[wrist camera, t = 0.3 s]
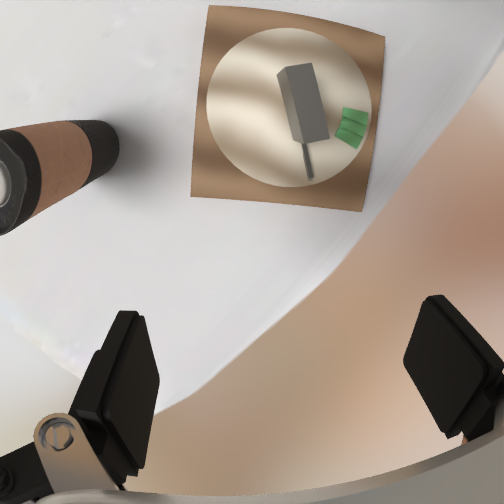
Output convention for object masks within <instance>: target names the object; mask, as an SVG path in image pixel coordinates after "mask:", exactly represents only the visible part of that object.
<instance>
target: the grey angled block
mask: <svg viewBox="0 0 504 504" xmlns="http://www.w3.org/2000/svg"><path fill="white" fill-rule="evenodd" d="M277 79H278V83H279V86H280V90H281V94H282V98H283V102H284V106H285V110H286V114H287V118H288V122H289V126H290V130H291V134H292V138H293V140H294V141H297V142H299V143H301V146H302V150H303V155H304V159H305V164H306V169H307V173H308V178H309V179H310V178H314V176H313V171H312V166H311V162H310V157H309V152H308V148H307V144H308V143H313V142H317V141H322V140H327V139H330V136H329V131H328V126H327V122H326V117H325V113H324V109H323V104H322V100H321V96H320V92H319V88H318V84H317V80H316V76H315V72H314V69H313V65H312V63H305V64H299V65H293V66H287V67H284V68H283V69H282V70H281V71H280V72H279V73H278V74H277Z"/></svg>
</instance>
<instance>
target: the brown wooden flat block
mask: <svg viewBox="0 0 504 504" xmlns="http://www.w3.org/2000/svg"><path fill="white" fill-rule="evenodd" d="M384 48H385V37H384V36H381V35H378V34H375V33H372V32H369V31H366V30H362V29H359V28H355V27H352V26H348V25H344V24H340V23H336V22H332V21H328V20H324V19H319V18H314V17H309V16H304V15H299V14H293V13H287V12H281V11H273V10H266V9H257V8H247V7H234V6H215V5H209V8H208V14H207V21H206V28H205V36H204V43H203V51H202V59H201V68H200V77H199V87H198V97H197V107H196V119H195V131H194V145H193V160H192V177H191V197H203V198H219V199H233V200H246V201H259V202H271V203H282V204H292V205H302V206H312V207H322V208H331V209H340V210H348V211H356V212H362V209H363V204H364V199H365V194H366V188H367V183H368V177H369V172H370V166H371V160H372V154H373V148H374V141H375V134H376V127H377V120H378V112H379V103H380V94H381V85H382V74H383V62H384ZM305 63H312V65H313V69H314V72H315V76H316V80H317V84H318V88H319V92H320V96H321V100H322V104H323V109H324V113H325V117H326V122H327V126H328V131H329V136H330V139H327V140H322V141H317V142H313V143H308V144H307V148H308V152H309V157H310V162H311V166H312V171H313V176H314V178H310V179H309V178H308V173H307V169H306V164H305V159H304V155H303V150H302V146H301V143H299V142H297V141H294V140H293V138H292V134H291V130H290V126H289V122H288V118H287V114H286V110H285V106H284V102H283V98H282V94H281V90H280V86H279V83H278V79H277V74H278V73H279V72H280V71H281V70H282V69H283V68H284V67H287V66H293V65H299V64H305Z"/></svg>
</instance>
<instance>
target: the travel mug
mask: <svg viewBox="0 0 504 504" xmlns="http://www.w3.org/2000/svg"><path fill="white" fill-rule="evenodd" d="M118 153H119V141H118V137H117V135H116V133H115V131H114V130H113V128H112V127H111V126H109V125H108V124H107V123H105V122H102V121H97V120H69V121H55V122H48V123H41V124H34V125H28V126H22V127H16V128H11V129H6V130H1V131H0V236H1V235H4V234H6V233H8V232H10V231H12V230H13V229H15V228H16V227H18V226H19V225H21V224H22V223H24V222H25V221H27V220H28V219H30V218H32V217H33V216H35V215H37V214H38V213H40V212H41V211H43V210H45V209H46V208H48V207H50V206H51V205H53V204H55V203H57V202H58V201H60V200H62V199H64V198H65V197H67V196H69V195H71V194H73V193H74V192H76V191H77V190H79V189H81V188H82V187H84V186H85V185H87V184H88V183H90V182H92V181H93V180H95V179H96V178H98V177H100V176H101V175H103V174H104V173H106V172H107V171H108V170H110V169H111V168H112V166H113V165H114V163H115V162H116V159H117V157H118Z"/></svg>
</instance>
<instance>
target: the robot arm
mask: <svg viewBox="0 0 504 504" xmlns="http://www.w3.org/2000/svg"><path fill="white" fill-rule="evenodd" d="M403 363H404V366H405V368H406V370H407V372H408V373H409V375H410V377H411V378H412V380H413V382H414V384H415V385H416V387H417V389H418V391H419V392H420V394H421V396H422V398H423V400H424V401H425V403H426V405H427V407H428V409H429V410H430V412H431V414H432V416H433V418H434V420H435V422H436V423H437V425H438V427H439V429H440V431H441V432H444V433H445V435H446V437H447V439H449V438H451V437H454V436H456V435H459V434H460V432H461V431H462V432H463V434H464V435H463V440H462V444H461V446H459V447H456V448H454V449H452V450H450V451H447V452H445V453H442V454H440V455H437V456H435V457H432V458H429V459H427V460H424V461H421V462H418V463H415V464H413V465H409V466H407V467H403V468H400V469H397V470H394V471H390V472H387V473H384V474H380V475H376V476H372V477H368V478H364V479H360V480H357V481H352V482H348V483H343V484H337V485H332V486H327V487H321V488H315V489H309V490H302V491H294V492H286V493H276V494H266V495H265V494H264V495H249V496H185V495H183V496H182V495H168V494H157V493H144V492H132V491H128V490H127V489H126V487H125V486H124V484H123V483H125V482H126V477H127V475H129V476H136V477H137V476H138V470H139V469H143V468H144V465H145V460H146V453H147V447H148V441H149V436H150V431H151V425H152V420H153V415H154V409H155V404H156V399H157V394H158V389H159V383H160V378H159V373H158V369H157V366H156V362H155V358H154V355H153V351H152V347H151V343H150V339H149V335H148V331H147V326H146V322H145V318H144V316H140V315H139V313H138V312H137V311H119V312H118V314H117V316H116V318H115V320H114V322H113V324H112V326H111V328H110V330H109V332H108V334H107V337H106V339H105V341H104V343H103V345H102V347H101V350H97V351H96V352H95V353H94V355H93V357H92V359H91V361H90V364H89V366H88V368H87V370H86V372H85V375H84V377H83V379H82V381H81V384H80V386H79V388H78V391H77V393H76V395H75V398H74V400H73V403H72V405H71V408H70V410H69V413H68V414H65V413H54V414H50V415H48V416H46V417H44V418H43V419H42V420H41V421H40V422H39V423H38V424H37V426H36V428H35V430H34V436H33V437H34V442H32V443H30V444H27V445H25V446H23V447H21V448H19V449H17V450H15V451H13V452H11V453H9V454H6V455H4V456H2V457H0V504H504V374H503V373H502V370H503V369H504V362H503V361H502V359H501V358H500V357H499V356H498V355H497V354H496V352H495V351H494V350H493V349H492V348H491V346H490V345H489V344H488V343H487V342H486V341H485V340H484V338H483V337H482V336H481V335H480V334H479V333H478V332H477V331H476V329H475V328H474V327H473V326H472V325H471V324H470V323H469V322H468V321H467V320H466V318H465V317H464V316H463V315H462V314H461V313H460V312H459V311H458V310H457V309H456V308H455V307H454V306H453V305H452V304H451V303H450V302H449V301H448V300H447V298H445V296H443V295H433V296H428V297H427V298H426V300H425V301H423V303H422V305H421V309H420V312H419V315H418V318H417V321H416V324H415V327H414V330H413V333H412V336H411V338H410V341H409V344H408V347H407V349H406V352H405V355H404V358H403Z"/></svg>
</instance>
